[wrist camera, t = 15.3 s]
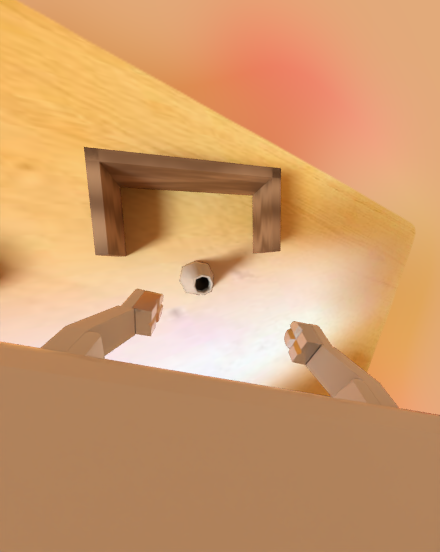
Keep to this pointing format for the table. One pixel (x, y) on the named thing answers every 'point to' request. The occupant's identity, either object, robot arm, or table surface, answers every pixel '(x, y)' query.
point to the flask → (197, 278)
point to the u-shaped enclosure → (179, 177)
